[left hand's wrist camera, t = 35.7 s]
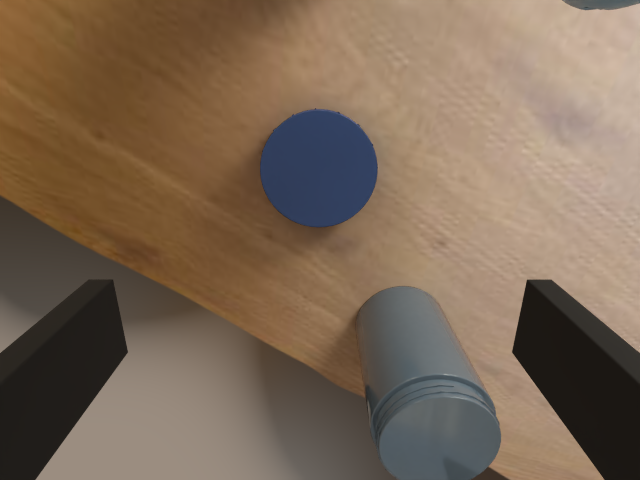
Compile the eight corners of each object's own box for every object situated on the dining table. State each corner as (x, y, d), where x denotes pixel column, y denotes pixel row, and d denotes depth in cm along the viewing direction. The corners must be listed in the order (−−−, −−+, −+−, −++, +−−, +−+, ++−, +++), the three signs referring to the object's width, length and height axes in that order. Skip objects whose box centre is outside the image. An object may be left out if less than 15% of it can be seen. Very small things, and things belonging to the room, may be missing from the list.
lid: (281, 231, 40) (279, 238, 38) (248, 126, 37) (244, 128, 35) (384, 206, 39) (387, 212, 37) (361, 95, 36) (363, 96, 34)
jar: (373, 275, 42) (402, 377, 27) (458, 300, 43) (531, 411, 28) (343, 349, 45) (354, 476, 30) (423, 370, 46) (471, 503, 32)
